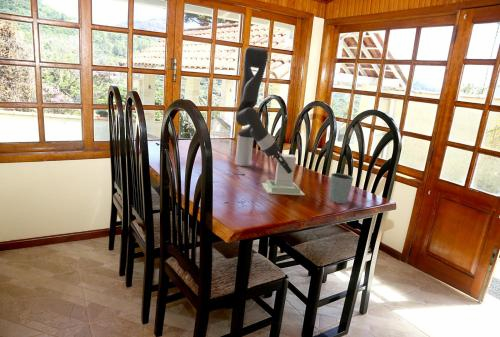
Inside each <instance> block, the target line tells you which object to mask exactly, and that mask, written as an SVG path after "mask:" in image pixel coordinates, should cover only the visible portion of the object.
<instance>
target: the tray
mask: <svg viewBox="0 0 500 337" xmlns="http://www.w3.org/2000/svg"><path fill="white" fill-rule="evenodd" d="M261 186H262V187H263V188H264V190H265V192H266V193H267V194H269V195H270V194H272V195H274V194H275V195H289V196H305V195H306V194H305V192H303V191H302V190H301V188H300V187H299V186H298V185H297V184H296V183H295V182H294V181H293V184H292V187H288V186H276V184H275V179H274V180H273V179H267V180H266V182H261Z"/></svg>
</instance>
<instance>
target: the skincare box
mask: <svg viewBox="0 0 500 337" xmlns="http://www.w3.org/2000/svg"><path fill="white" fill-rule="evenodd" d="M281 154H282V156H283V158H284V159H285V161H286V162H287V164H288V166H289V167H290V169H291V170H292V172H291V173H290V174H288V173H287V171H286V170H285V169H284V168H283V166H284V165H285V163H284V164H283V166H282V165H280V164H279V163H280V162H279V163H278V162H277V161H276V169H275V176H274V180H275V184H276V186H288V187H292V184H293V182H294V175H295V169H296V161H297V157H296V155H295V154H286V153H285V154H284V153H281Z"/></svg>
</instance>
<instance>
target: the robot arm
mask: <svg viewBox="0 0 500 337" xmlns="http://www.w3.org/2000/svg"><path fill="white" fill-rule="evenodd" d="M268 56H269V52H268V50H267V49H266V48H262V47H255V46H247V47H246V49H245V51H244V55H243V72H242V79H241V80H242V81H241V86H240V87H241V88H240V99H239V106H238V109H237V110H236V115H235V121H236V123H237V124H238V125H239V126H240V127H245V126H248V127H246V128H243V129H240V130H239V131H238V132H237V139H236V140H237V141H236V152H235V159H234V164H235V165H236V166H240V167H250V166H251V161H252V155H253V154H252V153H253V145H254V140H255V142H256V143H257V145H258V147H260V149H261V150H262V152H263V153H264V154H265V155H266V156H267V157H268V158H269V157H272V158H273V160H275V161H276V163H277V162H278V163H279V162H280V163H279V164H280V165H282V166H283V164H284V163H285V165H284V166H283V168H284V169H285V170H286V171H287V173H288V174H290V173H291V172H292V170H291V169H290V167H289V166H288V164H287V162H286V161H285V159H284V158H283V156H282V154H283V153H281V152H279V150H280V149H281V146H280V145H279V144H278V142H277V141H276V139H275V138H274V137H273V135H272V134H271V133H269V131H268V130H267V128H266V127H265V126H264V124H263V121H262V120H261V117H260V114H259V113H258V111H257V110H256V108H255V106H257V103H258V97H259V93H260V92H259V91H260V87H261V84H262V82H263V81H262V80H263V77H264V74H265V71H266V67H267V63H268ZM252 68H255V69H258V70H257V72H256V73H255V74H254V72H253V70H252Z"/></svg>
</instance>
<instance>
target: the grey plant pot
mask: <svg viewBox="0 0 500 337" xmlns="http://www.w3.org/2000/svg"><path fill="white" fill-rule="evenodd" d="M353 180H354V177H353V176H351V175H350V174H346V173H345V174H344V173H339V172H333V173H331V174H330V184H329V193H328V200H329V201H330V200H331V201H330V202H332V201H333V202H332V203H335V202H336V203H335V204H340V203H345V204H347V203H348V200H349V196H350V192H351V188H352V184H353ZM346 202H347V203H346Z"/></svg>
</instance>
